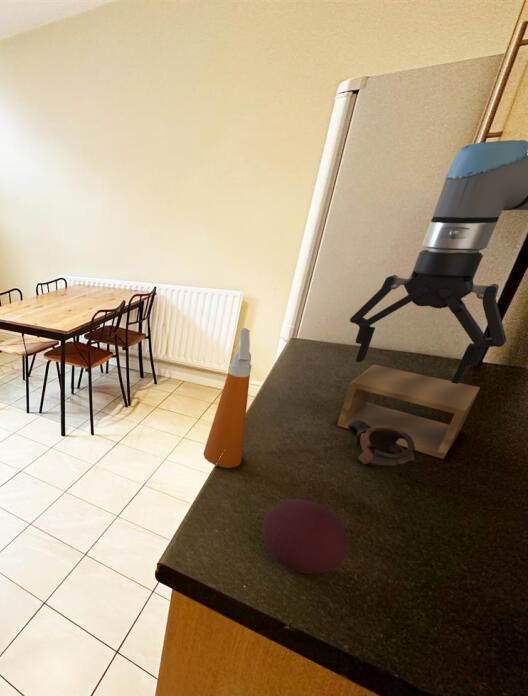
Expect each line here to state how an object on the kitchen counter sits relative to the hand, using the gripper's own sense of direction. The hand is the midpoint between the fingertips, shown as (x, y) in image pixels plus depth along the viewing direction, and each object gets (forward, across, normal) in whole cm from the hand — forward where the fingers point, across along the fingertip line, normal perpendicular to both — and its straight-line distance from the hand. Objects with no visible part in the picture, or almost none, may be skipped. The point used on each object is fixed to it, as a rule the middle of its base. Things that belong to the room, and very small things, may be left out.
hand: (404, 370), depth 76 cm
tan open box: (+19, 0, +17) cm, 26 cm away
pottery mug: (+19, 0, 0) cm, 19 cm away
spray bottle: (+19, -20, -22) cm, 35 cm away
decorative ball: (+19, +1, -41) cm, 45 cm away
